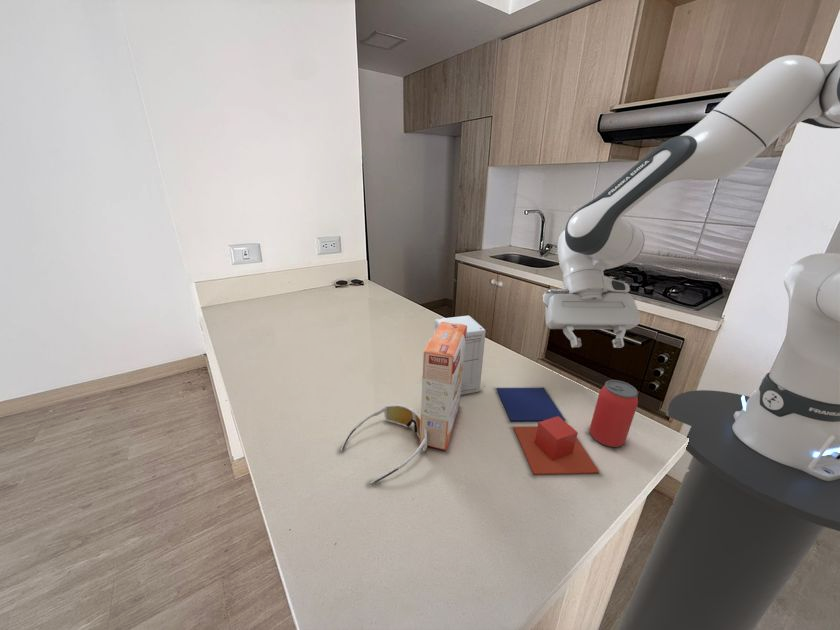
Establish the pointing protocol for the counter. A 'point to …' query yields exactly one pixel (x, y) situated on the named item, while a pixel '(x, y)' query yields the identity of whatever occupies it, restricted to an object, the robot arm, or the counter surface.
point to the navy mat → (528, 404)
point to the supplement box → (470, 352)
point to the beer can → (614, 413)
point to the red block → (555, 437)
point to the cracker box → (442, 383)
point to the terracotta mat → (563, 465)
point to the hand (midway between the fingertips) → (597, 347)
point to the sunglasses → (398, 416)
